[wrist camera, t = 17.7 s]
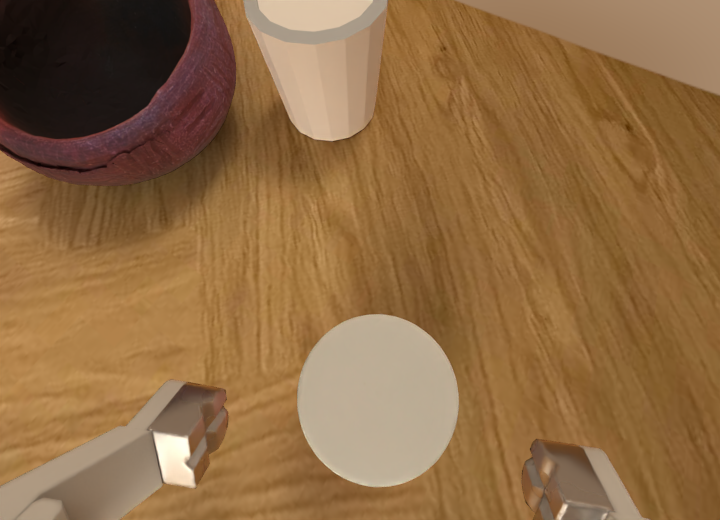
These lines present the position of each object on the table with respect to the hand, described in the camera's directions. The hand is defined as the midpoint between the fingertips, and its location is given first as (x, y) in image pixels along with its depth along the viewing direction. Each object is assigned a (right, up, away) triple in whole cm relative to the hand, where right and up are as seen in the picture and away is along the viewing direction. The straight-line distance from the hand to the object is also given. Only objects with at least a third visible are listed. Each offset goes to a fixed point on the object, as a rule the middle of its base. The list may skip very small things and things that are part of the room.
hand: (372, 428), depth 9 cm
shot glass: (-2, +14, +14) cm, 20 cm away
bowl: (-14, +14, +14) cm, 24 cm away
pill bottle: (0, -2, +7) cm, 8 cm away
